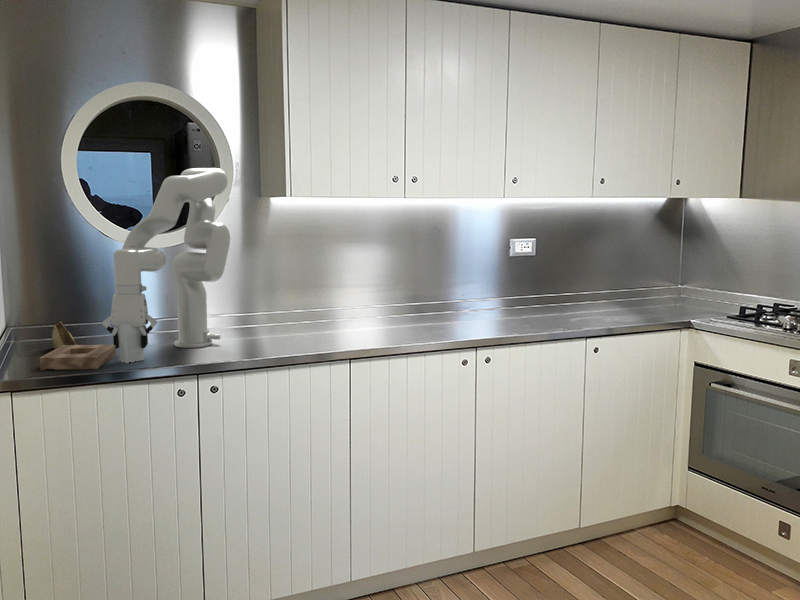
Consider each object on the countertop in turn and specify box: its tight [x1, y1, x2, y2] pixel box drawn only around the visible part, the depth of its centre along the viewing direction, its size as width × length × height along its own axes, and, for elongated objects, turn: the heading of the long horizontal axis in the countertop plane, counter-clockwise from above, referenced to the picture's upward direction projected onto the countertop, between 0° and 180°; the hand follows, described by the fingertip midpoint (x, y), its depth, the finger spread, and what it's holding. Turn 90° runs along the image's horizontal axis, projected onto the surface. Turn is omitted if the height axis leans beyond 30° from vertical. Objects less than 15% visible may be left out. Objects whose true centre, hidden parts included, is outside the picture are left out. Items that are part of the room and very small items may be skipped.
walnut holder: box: [39, 344, 117, 371], centre depth 215 cm, size 16×18×4 cm
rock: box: [51, 321, 78, 349], centre depth 233 cm, size 11×9×10 cm
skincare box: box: [118, 324, 145, 364], centre depth 217 cm, size 6×4×12 cm
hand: (130, 347), depth 217 cm, fingers closed on skincare box, 7 cm apart
